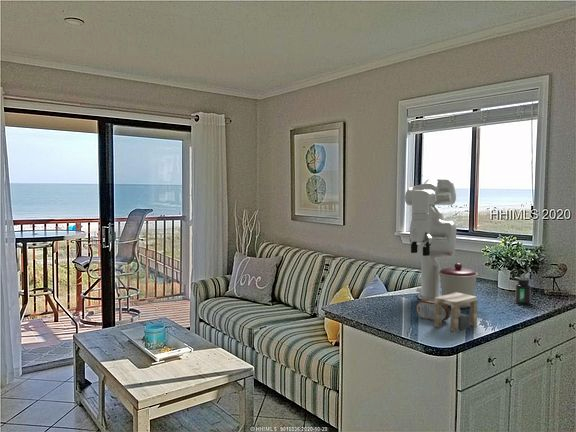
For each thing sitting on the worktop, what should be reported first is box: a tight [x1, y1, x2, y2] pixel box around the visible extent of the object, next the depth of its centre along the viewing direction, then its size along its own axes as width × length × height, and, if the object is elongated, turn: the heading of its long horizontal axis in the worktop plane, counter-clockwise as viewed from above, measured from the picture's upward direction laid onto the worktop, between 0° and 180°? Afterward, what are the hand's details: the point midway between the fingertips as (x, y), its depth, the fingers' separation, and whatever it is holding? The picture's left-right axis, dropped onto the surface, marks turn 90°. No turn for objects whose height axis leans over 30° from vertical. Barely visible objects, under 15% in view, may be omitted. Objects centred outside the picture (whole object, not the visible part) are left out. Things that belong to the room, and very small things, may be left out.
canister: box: [439, 262, 479, 309], centre depth 221 cm, size 18×18×21 cm
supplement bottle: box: [514, 278, 532, 306], centre depth 224 cm, size 7×7×12 cm
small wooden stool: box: [433, 292, 478, 333], centre depth 189 cm, size 10×15×12 cm, turn 125°
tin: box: [415, 299, 451, 322], centre depth 199 cm, size 15×3×8 cm, turn 48°
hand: (420, 254), depth 207 cm, fingers open, 9 cm apart
